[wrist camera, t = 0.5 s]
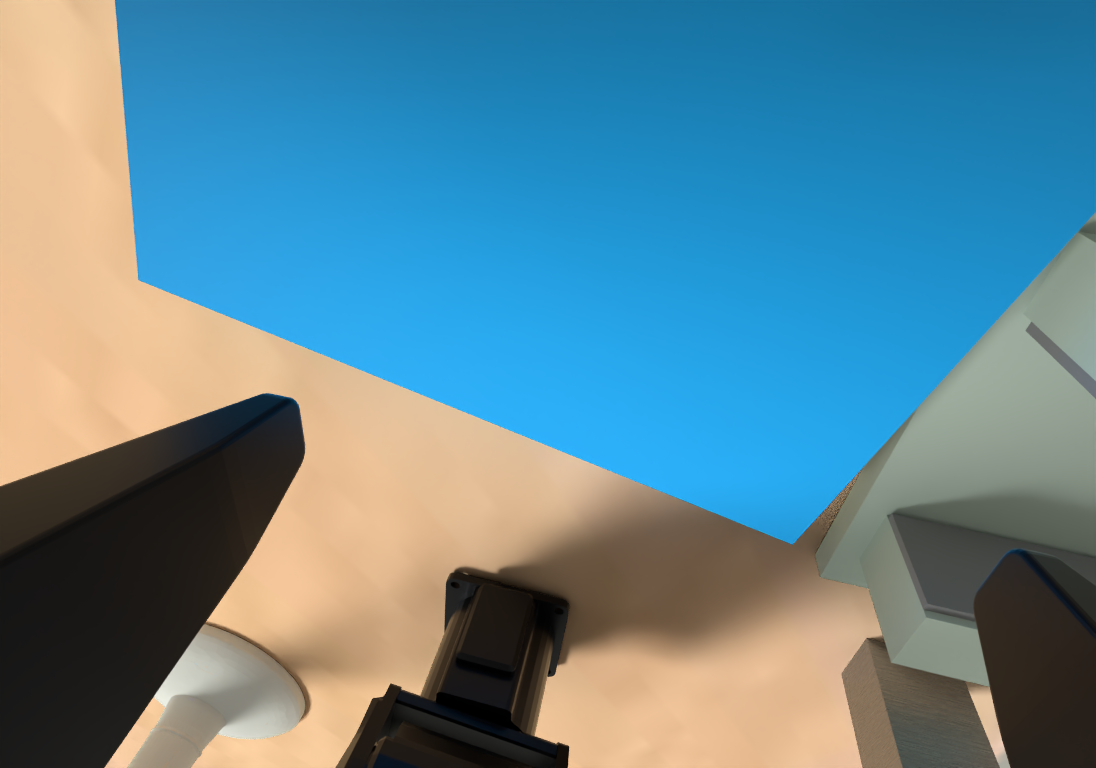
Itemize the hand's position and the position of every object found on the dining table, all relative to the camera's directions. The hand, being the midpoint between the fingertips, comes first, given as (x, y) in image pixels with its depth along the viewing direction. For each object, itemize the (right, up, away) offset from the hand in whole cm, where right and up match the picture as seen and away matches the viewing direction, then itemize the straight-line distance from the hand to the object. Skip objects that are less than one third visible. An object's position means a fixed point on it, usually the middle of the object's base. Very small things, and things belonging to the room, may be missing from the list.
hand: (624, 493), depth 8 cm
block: (+16, -12, +21) cm, 29 cm away
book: (0, +9, +12) cm, 15 cm away
